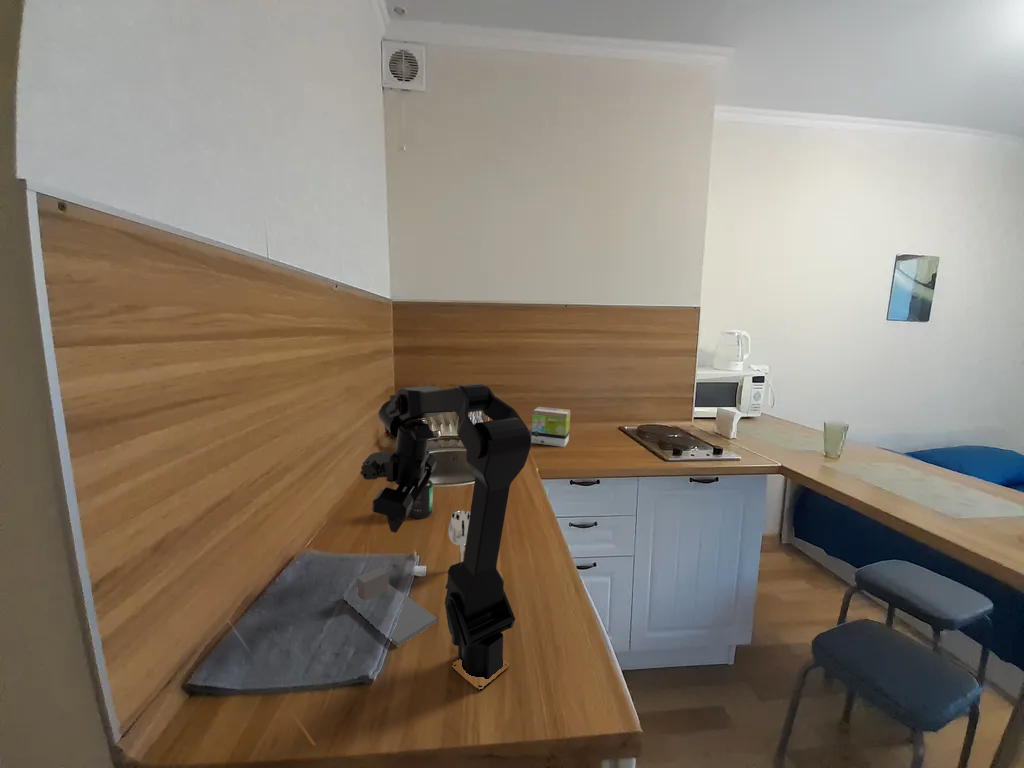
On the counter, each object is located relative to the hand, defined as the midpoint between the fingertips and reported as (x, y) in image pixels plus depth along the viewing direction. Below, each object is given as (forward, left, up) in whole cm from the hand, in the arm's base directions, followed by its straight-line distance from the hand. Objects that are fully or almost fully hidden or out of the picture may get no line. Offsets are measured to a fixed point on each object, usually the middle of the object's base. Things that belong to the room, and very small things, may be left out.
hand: (402, 516), depth 88 cm
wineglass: (-6, -10, -13) cm, 18 cm away
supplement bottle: (+22, -20, -13) cm, 33 cm away
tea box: (+40, -103, -13) cm, 112 cm away
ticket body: (-11, +8, -13) cm, 19 cm away
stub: (-2, +8, -13) cm, 15 cm away
